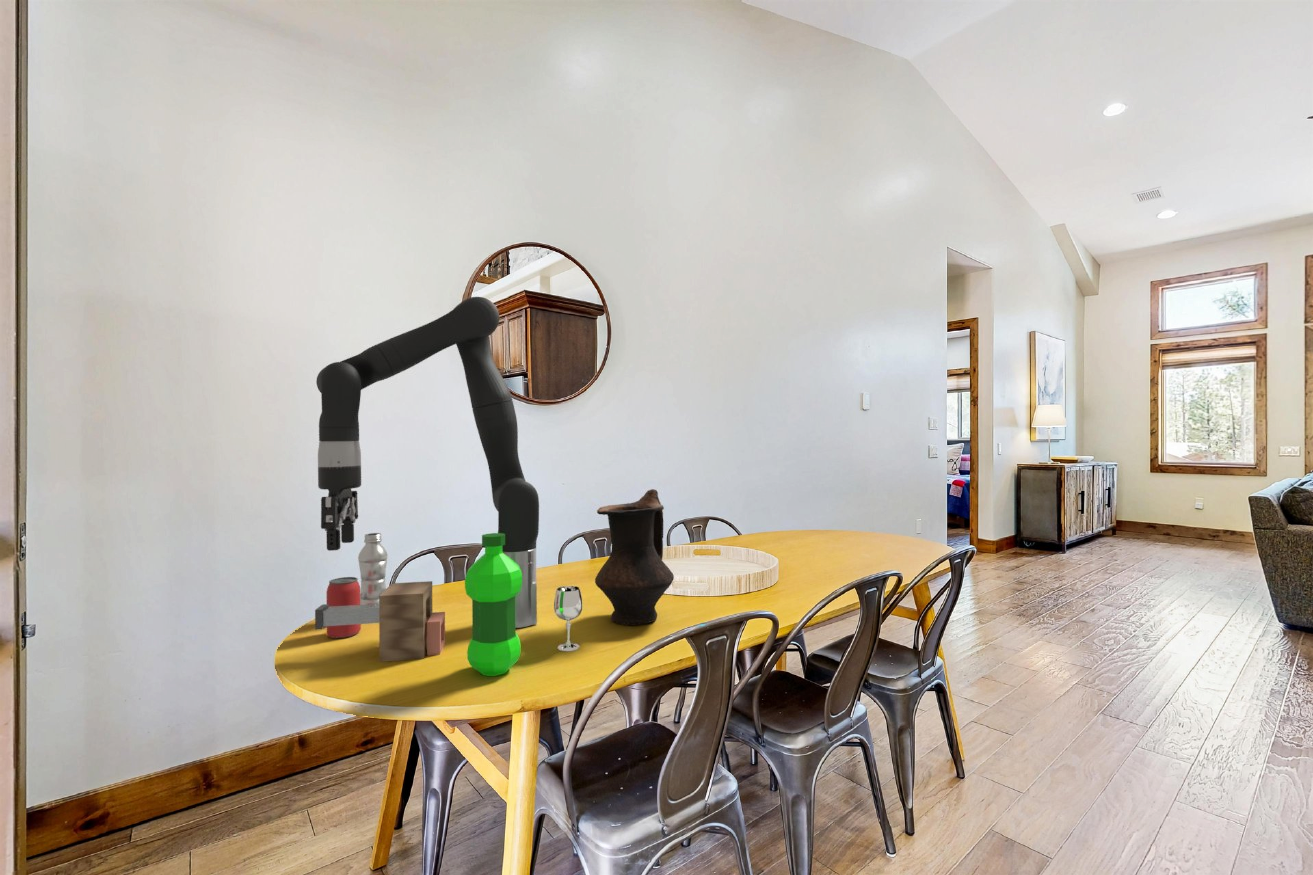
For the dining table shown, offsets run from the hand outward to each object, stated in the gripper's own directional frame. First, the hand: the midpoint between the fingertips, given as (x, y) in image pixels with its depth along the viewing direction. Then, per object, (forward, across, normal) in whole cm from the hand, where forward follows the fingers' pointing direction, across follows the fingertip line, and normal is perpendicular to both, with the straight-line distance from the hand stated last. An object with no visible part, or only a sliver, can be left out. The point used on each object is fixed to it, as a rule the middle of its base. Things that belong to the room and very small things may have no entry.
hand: (341, 546), depth 116 cm
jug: (+22, +11, -61) cm, 66 cm away
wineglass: (+22, -5, -44) cm, 50 cm away
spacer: (+22, 0, -18) cm, 28 cm away
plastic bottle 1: (+22, +26, +1) cm, 34 cm away
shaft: (+16, 0, -5) cm, 16 cm away
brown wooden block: (+22, 0, -12) cm, 25 cm away
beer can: (+22, +14, +4) cm, 26 cm away
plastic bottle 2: (+22, -14, -30) cm, 40 cm away
